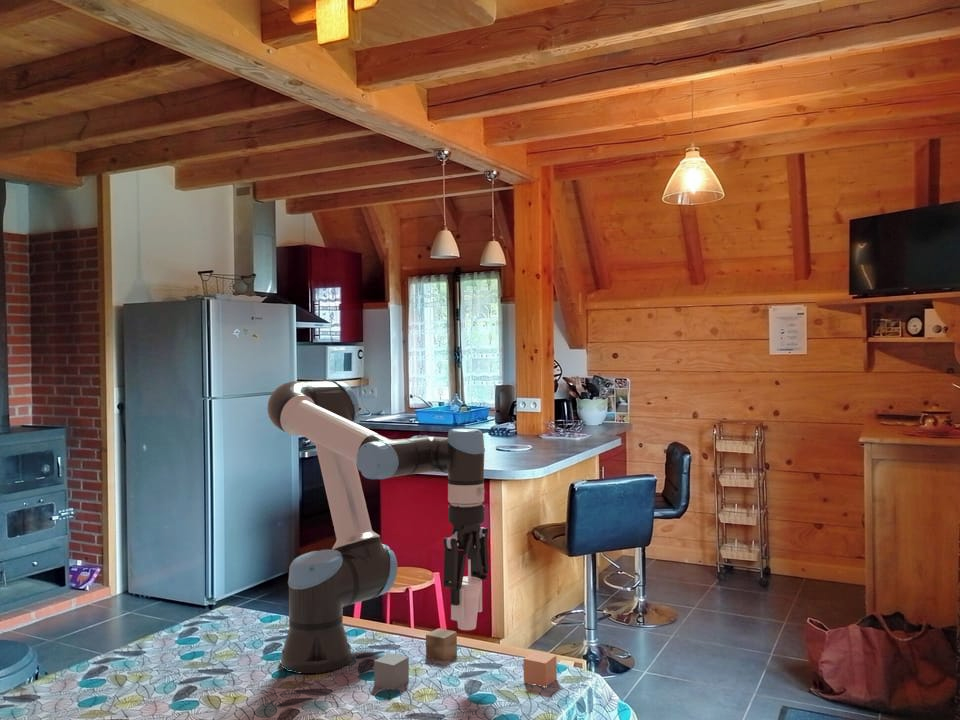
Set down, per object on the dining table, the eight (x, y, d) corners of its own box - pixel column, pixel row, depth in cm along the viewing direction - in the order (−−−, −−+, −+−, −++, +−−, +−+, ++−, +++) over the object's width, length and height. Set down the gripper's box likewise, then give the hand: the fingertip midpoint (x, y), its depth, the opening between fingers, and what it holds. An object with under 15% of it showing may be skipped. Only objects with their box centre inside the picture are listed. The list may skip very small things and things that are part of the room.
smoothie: (479, 633, 151) (478, 563, 151) (448, 631, 152) (447, 562, 153) (485, 623, 157) (484, 556, 158) (455, 621, 159) (455, 555, 159)
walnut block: (426, 657, 168) (425, 634, 168) (438, 650, 172) (438, 628, 172) (444, 661, 165) (444, 638, 166) (456, 654, 170) (456, 631, 170)
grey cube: (374, 685, 153) (374, 660, 153) (389, 676, 157) (389, 652, 157) (393, 690, 150) (393, 665, 150) (408, 681, 154) (408, 657, 154)
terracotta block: (523, 683, 153) (523, 658, 153) (535, 675, 157) (534, 651, 157) (545, 688, 150) (545, 663, 150) (556, 679, 154) (556, 655, 154)
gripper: (455, 512, 145) (456, 632, 145) (505, 498, 162) (505, 605, 161) (424, 509, 149) (424, 625, 149) (475, 495, 165) (476, 600, 165)
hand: (466, 615), depth 155 cm, fingers closed on smoothie, 6 cm apart
